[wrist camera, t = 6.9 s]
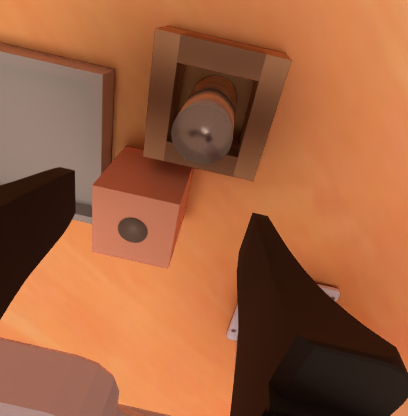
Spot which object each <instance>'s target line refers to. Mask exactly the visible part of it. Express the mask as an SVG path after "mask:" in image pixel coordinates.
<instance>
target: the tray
mask: <svg viewBox="0 0 408 416" xmlns="http://www.w3.org/2000/svg"><path fill="white" fill-rule="evenodd" d="M114 78H115V69H112V68H107V67H103V66H99V65H94V64H90V63H86V62H81V61H77V60H73V59H68V58H64V57H60V56H55V55H51V54H46V53H42V52H38V51H33V50H29V49H25V48H20V47H16V46H12V45H7V44H3V43H0V185H3V184H6V183H10V182H13V181H16V180H19V179H22V178H25V177H28V176H31V175H34V174H37V173H40V172H43V171H46V170H50V169H53V168H57V167H62V168H66V169H71V170H75V198H76V213H75V215H74V217H73V219H72V220H77V221H81V222H86V223H90V224H92V185H93V184H94V182H95V181H96V180H97V179H98V178H99V177H100V176H101V174H102V173H103V172H104V171H105V170H106V169H107V167H108V166H109V165H110V164H111V161H112V133H113V105H114Z"/></svg>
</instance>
